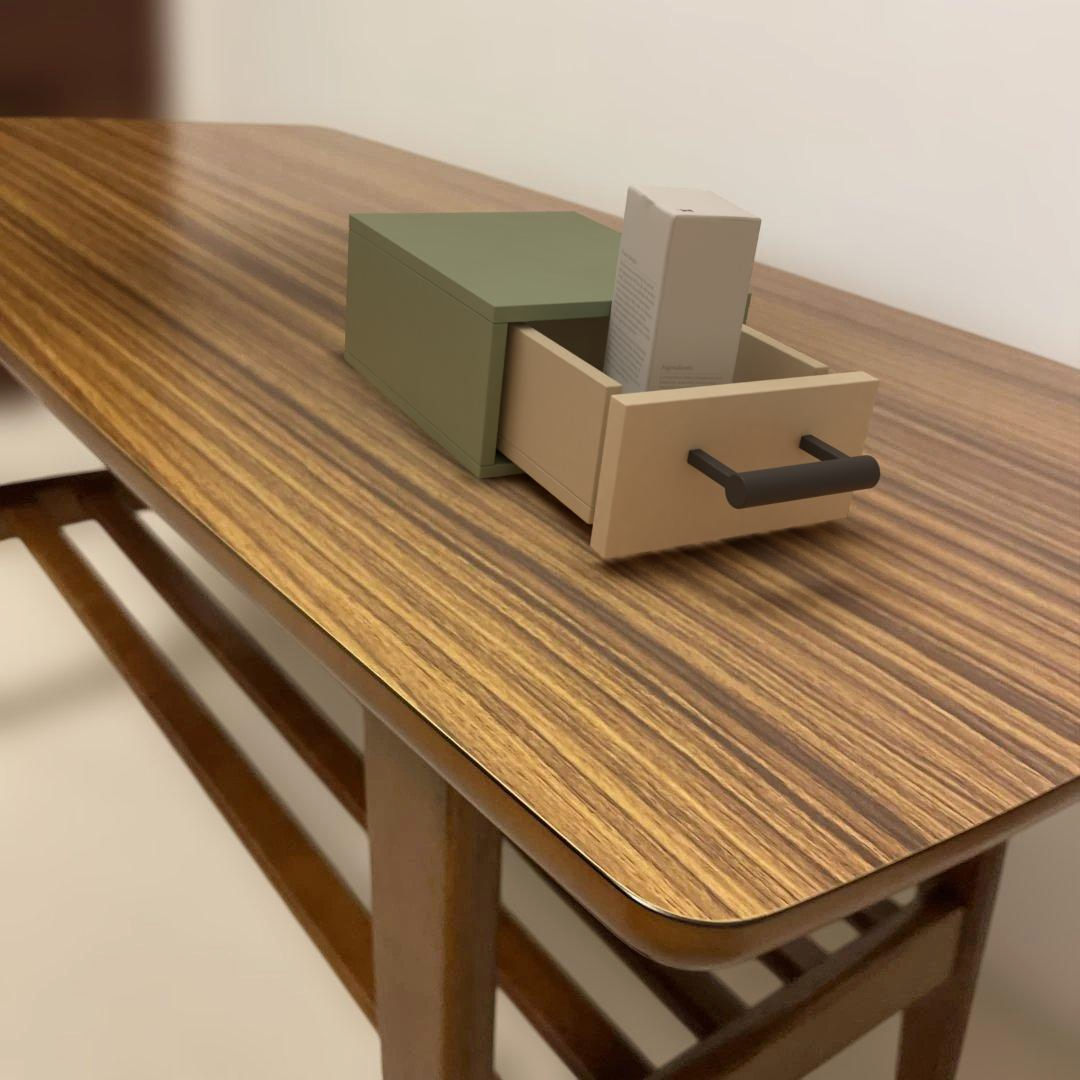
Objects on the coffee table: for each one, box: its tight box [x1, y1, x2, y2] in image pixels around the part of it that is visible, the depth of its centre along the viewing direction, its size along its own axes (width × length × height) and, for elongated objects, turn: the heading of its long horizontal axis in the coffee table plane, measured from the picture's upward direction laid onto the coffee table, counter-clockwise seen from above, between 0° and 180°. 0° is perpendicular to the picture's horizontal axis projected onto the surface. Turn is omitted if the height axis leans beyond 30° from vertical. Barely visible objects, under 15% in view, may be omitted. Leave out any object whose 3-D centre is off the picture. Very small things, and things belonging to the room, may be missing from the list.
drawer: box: [496, 317, 881, 560], centre depth 57 cm, size 21×13×7 cm, turn 29°
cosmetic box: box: [602, 184, 762, 394], centre depth 56 cm, size 6×4×12 cm
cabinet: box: [343, 210, 753, 480], centre depth 67 cm, size 18×15×9 cm
